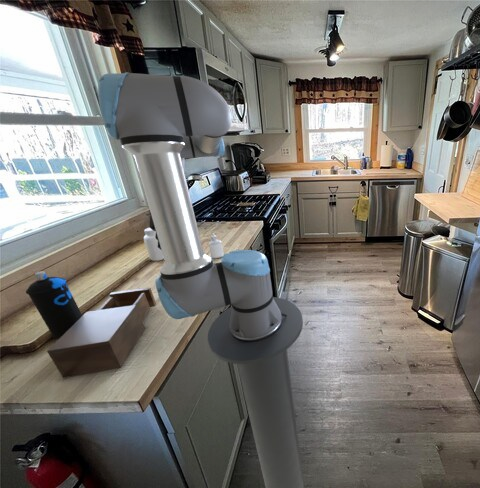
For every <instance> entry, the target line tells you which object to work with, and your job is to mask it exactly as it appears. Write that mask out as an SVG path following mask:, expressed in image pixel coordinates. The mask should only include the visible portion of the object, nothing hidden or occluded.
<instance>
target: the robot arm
mask: <svg viewBox="0 0 480 488" xmlns="http://www.w3.org/2000/svg"><path fill="white" fill-rule="evenodd" d="M97 95H98V97H97V98H98V103H99V104H98V105H99V110H100V114H101V118H102V121H103V122H104V127H105V130H106V132H107V134H108V136H109V137H110V138H112V139H114V140H117V141H120V145H121V148H122V149H123V150H125V151H126V152H128V153H129V154H131V155H132V156H133V157H134V160H135V164H136V167H137V171H138V174H139V177H140V181H141V184H142V187H143V191H144V194H145V198H146V201H147V205H148V209H149V211H150V215H149V228H151V229H152V230H153V231H156V236H155V238H156V239H157V240H158V248H159V249H161V250H162V253H163V256H164V259H163V260H164V263H163V264H162V265H161V266H160V268H159V273H160V274H159V275H158V276H157V277H156V278H155V280H154V281H155V283H154V284H155V289H156V291H157V296H158V298H159V301H160V304H161V305H162V307H163V310H164V311H165V312H166V314H168V316H169V317H171V318H172V319H174V320H182V319H186V318H189V317H191V318H192V317H196V316H197V315H200V314H204V313H207V312H211V311H214V310H217V309H220V308H223V307H226V306H231V307H232V312H231V317H230V332H231V334H232V336H233V337H234V338H235V339H237V340H239V341H242V342H257V341H261V340H264V339H266V338H268V337H270V336H272V335H273V334H274V333H276V332H277V331H278V329H279V328H280V326H281V324H282V316H284V317H287V315H286V314H284V313H281V311H280V309H279V308H278V306H277V304H276V302H275V301H274V299H273V297H274V295H273V286H272V279H271V273H270V272H271V268H270V265H269V260H268V258H267V256H266V255H265V254H264V253H262V252H260V251H257V250H253V249H237V250H231V251H228V253H224V256H223V257H221V260H220V262H215V263H214V261H213V258H212V257H211V255H208V254H206V253H205V251H204V247H203V244H202V239H201V236H200V231H199V228H198V224H197V220H196V215H195V211H194V207H193V206H194V205H193V202H192V199H191V195H190V190H189V187H188V186H189V185H188V182H187V177H186V174H185V166H186V161H185V159H194V158H209V157H213V158H215V157H216V158H217V157H221V156H224V155H225V153H226V149H225V143H224V142H225V141H224V139H223V137H224V136H225V135H226V134H227V133H228V132H229V130H230V128H231V125H232V120H233V118H232V111H231V108H230V106H229V104H228V103H227V101H226V99H225V98H224V97H223V96H222V95H221V94H220V93H219V91H218V90H216V89H215V88H214V87H213V86H211V85H209V84H207V83H206V82H204V81H203V80H200V79H198V78H194V77H191V76H187V75H165V74H147V73H133V72H127V71H126V72H123V73H120V72H119V73H118V72H117V73H104V74H102V75H101V77H100V78H99V80H98V84H97Z"/></svg>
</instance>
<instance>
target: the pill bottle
mask: <svg viewBox="0 0 480 488" xmlns="http://www.w3.org/2000/svg"><path fill="white" fill-rule="evenodd" d="M143 231H144V234H145V235H144V236H143V242H144V246H145V248H146V251H147V254H148V258H149V259H150V261H152V262H158V261H163V260H164V256H163V253H162V250H161V249H159V248H158V240H157V239H156V238H155V236H156V231H153V230H152V229H151V228H150V227H147V228H145V229H143Z"/></svg>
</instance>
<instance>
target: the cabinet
mask: <svg viewBox="0 0 480 488" xmlns="http://www.w3.org/2000/svg"><path fill="white" fill-rule="evenodd" d="M145 330H146V326H145V323H144V321H142V318H141V316H140V313H139V311H138V308H137V306H136V305H131V306H124V307H117V308H110V309H103V310H98V309H97V310H89V311H85V313H83V314H82V317H81V318H80V319H79V320H78V321H77V322H76V323H75V324H74V325H73V326H72V327H71V328H70V329H69V330H68V331H67V332H66V333H65V334H64V335H63V336H62V337H61V338H58V339H57V340H56V341H55V342H54V343H53V344H52V345H51V346H50V347H49V348H48V349H47V350H46V352H47V354H48V355H49V357H50V359H51V361H52V362H53V364H54V365H55V367H56V368H57V370H58V372H59V373H60V375H61V377H62V379H63V378H64V379H65V378H71V377H76V376H82V375H88V374H93V373H98V372H105V371H111V370H115V369H121V368H123V365H124V364H125V362H126V361H127V360H128V357H129V356H130V354H131V353H132V352H133V350H134V347H135V346H136V345H137V343H138V341H139V340H140V338H141V337H142V335H143V333H144V331H145Z"/></svg>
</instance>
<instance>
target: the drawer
mask: <svg viewBox="0 0 480 488" xmlns="http://www.w3.org/2000/svg"><path fill="white" fill-rule="evenodd" d="M108 295H109V298H108V299H107V300H106V301H105V302H104V303H103V304H102V305H101V306H100V307H99V308H98V309H97V310H103V309H110V308H117V307H124V306H131V305H136V306H137V308H138V311H139V313H140V316H141V318H142V321H143V320H144V319H145V318H146V316H147V315H148V313H149V312H150V311H151V308H153V307H156V306H157V302H156V299H155V296H154V294H153V291H152V288H151V287H144V288H135V289H128V290H122V291H121V290H120V291H113V292H110V293H109V294H108ZM143 322H144V321H143Z"/></svg>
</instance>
